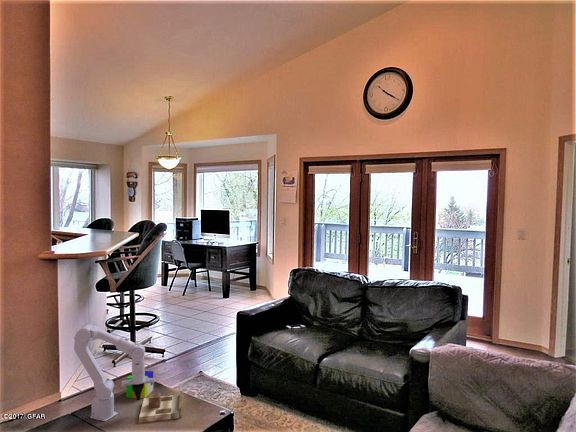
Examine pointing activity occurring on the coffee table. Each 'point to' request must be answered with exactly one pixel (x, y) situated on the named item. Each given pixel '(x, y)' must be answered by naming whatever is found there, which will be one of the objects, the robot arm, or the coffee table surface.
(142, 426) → the coffee table surface
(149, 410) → the trap board
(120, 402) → the coffee table surface
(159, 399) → the block
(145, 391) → the puzzle toy
